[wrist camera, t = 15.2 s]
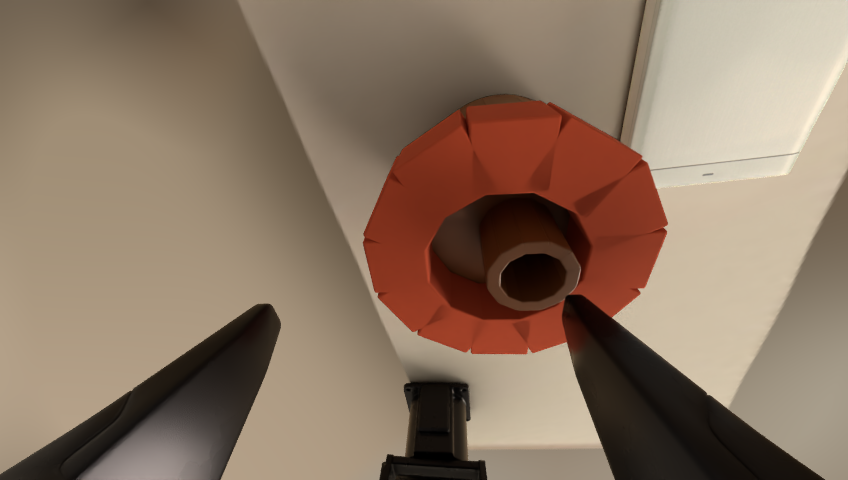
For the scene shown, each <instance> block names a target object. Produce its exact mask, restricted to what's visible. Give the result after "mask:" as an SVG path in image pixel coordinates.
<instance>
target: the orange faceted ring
mask: <svg viewBox="0 0 848 480" xmlns="http://www.w3.org/2000/svg"><path fill="white" fill-rule="evenodd" d="M642 157H643V156H642V155H641V154H639V153H637V152H636V151H634V150H633V149H631V148H629V147H628V146H626V145H624V144H623V143H621V142H620V141H618V140H616V139H615V138H613V137H611V136H610V135H608V134H606V133H605V132H603V131H601V130H599V129H597V128H596V127H594V126H592V125H590V124H588V123H587V122H585V121H583V120H581V119H580V118H578V117H576V116H574V115H572V114H571V113H569V112H567V111H565V110H563V109H562V108H560V107H558V106H556V105H555V104H553V103H551V102H549V103H548V104H547V105H546V104H545V103H544V102H542V101H529V102H517V103H505V104H492V105H480V106H468V107H467V108H466V119H465V118H464V116H463V114H462V113H461V111H460V110H457V111H456V112H454V113H453V114H451V115H450V116H449V117H447V118H446V119H444V120H443V121H442V122H440V123H439V124H437V125H436V126H434V127H433V128H432V129H430V130H429V131H427V132H426V133H424V134H423V135H422V136H420V137H419V138H417V139H416V140H415V141H413V142H412V143H410V144H409V145H407V146H406V147H405V148H403V149H402V151H401V153H400V156H397V157H396V159H395V161H394V163H393V166H392V168H391V170H390V172H389V174H388V176H387V179H386V181H385V183H384V186H383V188H382V191H381V193H380V195H379V198H378V200H377V203H376V205H375V207H374V210H373V212H372V214H371V217H370V219H369V222H368V224H367V226H366V229H365V231H364V237H365V238H364V241H363V246H364V250H365V254H366V258H367V262H368V266H369V271H370V275H371V279H372V283H373V287H374V291H375V292H376V293H378V298H379V299H380V300H381V301H382V302H383V303H384V304H385V305H386V306H387V307H388V308H389V309H390V310H391V311H392V312H393V313H394V314H395V315H396V316H397V317H398V318H399V319H400V320H401V321H402V322H403V323H404V324H405V325H406V326H407V327H408V328H409V329H410V330H411V331H412V332H414V331H417V330H418V335H419V336H422V337H424V338H427V339H430V340H433V341H435V342H438V343H441V344H443V345H446V346H449V347H452V348H454V349H457V350H460V351H463V352H467V351H468V350H469V349H470V348H471V353H472V354H527V351H528V348H529V349H530V350H531V352H532V353H535V352H538V351H541V350H544V349H547V348H550V347H553V346H556V345H559V344H562V343H565V342H567V340H566V336H565V332H564V328H563V324H562V311H563V306H564V300H565V299H564V300H563V301H561V302H560V303H557V304H555V305H552V306H550V307H547V308H545V309H542V310H528V311H518V310H514V309H512V308H509V307H507V306H504V305H502V304H499V303H498V302H497V301H496V300H495V298H494V297H493V296H492V295H491V293H490V292H489V291H488V289H487V286H486V283H480V284H478V283H476V282H474V281H471V280H469V279H466V278H464V277H461V276H459V275H457V274H454V273H452V272H450V271H449V270H448V268H447V267H446V266H445V265H444V264H443V262H442V261H441V260H440V259H439V257H438V256H437V255H436V254H435V253H434V251H433V250H432V240H433V238H434V236H435V235H436V233H437V231H438V229H439V228H440V226H441V224H442V223H443V221H444V219H445V218H446V217H448V216H450V215H452V214H453V213H455V212H457V211H459V210H460V209H462V208H464V207H466V206H467V205H469V204H471V203H473V202H475V201H476V200H478V199H480V198H482V197H483V196H485V195H499V194H519V193H535V194H537V195H539V196H541V197H543V198H546V199H548V200H550V201H552V202H554V203H556V204H558V205H560V206H562V207H564V208H566V209H567V210H568V212H569V214H570V218H569V223H568V228H567V234H566V241H567V243H568V245H569V246H570V248H571V250H572V252H573V253H574V255H575V257H576V259H577V260H578V262H579V264H580V266H581V271H580V276H579V280H578V285H577V287H576V288H575V289H574V290H573V291H572V292H571V293H570V294H569V295H571V294H581V295H583V296H585V297H586V298H587V299H589V300H590V301H591V302H592V303H594V304H595V305H596V306H597V307H599V308H600V309H601V310H602V311H604V312H605V313H606V314H608V315H609V316H610V317H611V318H612V317H613V316H614V315H615V314H617V313H618V312H619V311H620V310H621V309H623V308H624V307H625V306H626V305H628V304H629V303H630V302H631V301H632V300H634V299H635V298H636V297H637V296H639V295H640V291H639V290H638V289H637V288H645V286H646V284H647V281H648V279H649V276H650V274H651V272H652V269H653V267H654V264H655V262H656V259H657V257H658V254H659V252H660V249H661V247H662V244H663V242H664V239H665V237H666V235H667V231H666V230H665V229H664V228H663V227H665V226H667V225H668V222H667V219H666V216H665V213H664V210H663V207H662V204H661V201H660V198H659V195H658V192H657V189H656V186H655V183H654V180H653V177H652V174H651V171H650V168H649V165H648V163H647V162H646V161H644V160H643V159H642Z"/></svg>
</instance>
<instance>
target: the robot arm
mask: <svg viewBox="0 0 848 480" xmlns="http://www.w3.org/2000/svg"><path fill="white" fill-rule="evenodd" d="M562 324H563V328H564V332H565V336H566V340H567V344H568V348H569V352H570V356H571V360H572V363H573V367H574V371H575V374H576V377H577V380H578V383H579V386H580V388H581V391H582V394H583V396H584V399H585V401H586V404H587V407H588V409H589V412H590V415H591V417H592V420H593V423H594V425H595V428H596V431H597V433H598V436H599V439H600V441H601V444H602V447H603V449H604V452H605V454H606V457H607V460H608V462H609V465H610V468H611V470H612V473H613V475H614V478H615V480H825V479H823V478H822V477H821V476H819V475H818V474H816V473H815V472H813V471H812V470H811V469H809V468H808V467H806V466H805V465H803V464H802V463H800V462H799V461H798V460H796V459H795V458H793V457H792V456H790V455H789V454H788V453H786V452H785V451H784V450H782V449H781V448H779V447H778V446H776V445H775V444H774V443H772V442H771V441H770V440H768V439H767V438H765V437H764V436H763V435H761V434H760V433H758V432H757V431H756V430H754V429H753V428H752V427H750V426H749V425H748V424H747V423H745V422H744V421H743V420H741V419H740V418H739V417H737V416H736V415H735V414H733V413H732V412H731V411H730V410H728V409H727V408H726V407H724V406H723V405H722V404H721V403H719V402H718V401H717V400H716V399H714V398H713V397H712V396H710V395H707V393H706V392H705V391H704V390H703V389H701V388H700V387H699V386H698V385H696V384H695V383H694V382H693V381H691V380H690V379H689V378H687V377H686V376H685V375H684V374H682V373H681V372H680V371H679V370H677V369H676V368H675V367H674V366H672V365H671V364H670V363H668V362H667V361H666V360H665V359H663V358H662V357H661V356H660V355H658V354H657V353H656V352H654V351H653V350H652V349H651V348H649V347H648V346H647V345H646V344H644V343H643V342H642V341H641V340H639V339H638V338H637V337H635V336H634V335H633V334H632V333H630V332H629V331H628V330H627V329H625V328H624V327H623V326H622V325H620V324H619V323H618V322H616V321H615V320H614V319H613V318H611V317H610V316H609V315H608V314H606V313H605V312H604V311H602V310H601V309H600V308H599V307H597V306H596V305H595V304H594V303H592V302H591V301H590V300H589V299H587V298H586V297H585V296H583V295H581V294H571V295H567V296H566V297H565V300H564V306H563V311H562ZM280 328H281V323H280V319H279V317H278V316H277V314H276V312H275V310H274V308H273V306H272V305H270V304H257V305H255V306H253V307H252V308H250V309H249V310H248V311H246V312H245V313H243V314H242V315H240V316H239V317H237V318H236V319H234V320H233V321H232V322H230V323H229V324H227V325H226V326H224V327H223V328H221V329H220V330H218V331H217V332H215V333H214V334H213V335H211V336H210V337H208V338H207V339H205V340H204V341H202V342H201V343H199V344H198V345H197V346H195V347H194V348H192V349H191V350H189V351H188V352H186V353H185V354H184V355H182V356H180V357H179V358H177V359H176V360H175V361H173V362H172V363H170V364H169V365H167V366H166V367H164V368H163V369H161V370H160V371H158V372H157V373H156V374H154V375H153V376H151V377H150V378H148V379H147V380H145V381H144V382H142V383H141V384H140V385H138V386H137V387H135V388H134V389H133V390H132V391H129V392H128V393H126V394H125V395H123V396H122V397H121V398H119V399H117V400H116V401H115V402H113V403H112V404H110V405H109V406H107V407H106V408H104V409H103V410H101V411H100V412H98V413H97V414H95V415H94V416H92V417H91V418H89V419H88V420H86V421H85V422H83V423H81V424H80V425H78V426H77V427H75V428H73V429H72V430H70V431H69V432H67V433H66V434H64V435H63V436H61V437H59V438H58V439H56V440H54V441H53V442H51V443H50V444H48V445H46V446H45V447H43V448H42V449H40V450H39V451H37V452H35V453H34V454H32V455H30V456H29V457H27V458H26V459H24V460H22V461H21V462H19V463H18V464H16V465H15V466H13V467H11V468H10V469H8V470H6V471H5V472H3V473H2V474H0V480H220V479H221V477H222V475H223V472H224V470H225V468H226V466H227V463H228V461H229V459H230V456H231V454H232V452H233V449H234V447H235V445H236V442H237V440H238V438H239V435H240V433H241V431H242V428H243V426H244V424H245V421H246V419H247V416H248V414H249V412H250V410H251V407H252V405H253V403H254V400H255V398H256V396H257V394H258V391H259V389H260V387H261V384H262V382H263V379H264V377H265V374H266V372H267V369H268V366H269V363H270V360H271V356H272V353H273V350H274V347H275V344H276V341H277V337H278V335H279V331H280ZM404 392H405V396H406V400H407V404H408V408H409V412H410V417H409V426H408V435H407V444H406V453H405V457H402V456H394V455H389V454H388V455H387V459H386V462H383V463H382V468H381V474H380V480H487V475H486V467H485V461H483V460H479V461H468V448H467V424H466V421H469V420H470V402H469V386H468V385H467V384H464V383H406V384H405V385H404Z"/></svg>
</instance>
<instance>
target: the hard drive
mask: <svg viewBox="0 0 848 480" xmlns="http://www.w3.org/2000/svg"><path fill="white" fill-rule="evenodd" d="M847 62H848V0H647V1H646V6H645V11H644V17H643V22H642V28H641V33H640V38H639V44H638V49H637V54H636V59H635V65H634V70H633V76H632V81H631V86H630V91H629V96H628V102H627V108H626V113H625V118H624V123H623V129H622V134H621V139H620V142H621V143H623V144H624V145H626V146H628V147H629V148H631V149H633V150H634V151H636V152H637V153H639V154H641V155H642V156H643V157H642V159H643V160H644V161H646V162H647V163H648V165H649V168H650V171H651V174H652V177H653V180H654V183H655V186H656V189H658V188H668V187H678V186H687V185H697V184H708V183H717V182H726V181H735V180H745V179H754V178H764V177H773V176H781V175H785V174H789V173H790V171H791V169H792V167H793V165H794V163H795V161H796V159H797V157H798V155H799V153H800V151H801V150H802V148H803V146H804V144H805V142H806V141H807V139H808V137H809V134H810V132H811V131H812V129H813V127H814V125H815V123H816V121H817V119H818V117H819V115H820V113H821V111H822V110H823V108H824V106H825V104H826V102H827V100H828V98H829V96H830V95H831V93H832V91H833V89H834V87H835V85H836V83H837V81H838V79H839V77H840V75H841V73H842V71H843V69H844V67H845V66H846V64H847Z"/></svg>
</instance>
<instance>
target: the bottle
mask: <svg viewBox="0 0 848 480" xmlns="http://www.w3.org/2000/svg"><path fill="white" fill-rule="evenodd" d="M529 101H533V100H530V99H528V98H525V97H521V96H517V95H508V94H504V95H493V96H487V97H483V98H480V99H477V100H475V101H473V102H471V103H468V104H466V105H465V106H463V107H462V108H460V109H459V110H460V111H461V113H462V114H463V116H464V118H465V119H466V108H467V107H468V106H480V105H492V104H505V103H517V102H529ZM569 218H570V214H569V212H568V210H567V209H566V208H564V207H562V206H560V205H558V204H556V203H554V202H552V201H550V200H548V199H546V198H543V197H541V196H539V195H537V194H535V193H519V194H499V195H485V196H483V197H482V198H480V199H478V200H476V201H475V202H473V203H471V204H469V205H467V206H466V207H464V208H462V209H460V210H459V211H457V212H455V213H453V214H452V215H450V216H448V217H446V218H445V219H444V221H443V223H442V224H441V226H440V228H439V229H438V231H437V233H436V235H435V236H434V238H433V240H432V250H433V251H434V253H435V254H436V255H437V256H438V257H439V259H440V260H441V261H442V262H443V264H444V265H445V266H446V267H447V268H448V270H449V271H450V272H452V273H454V274H457V275H459V276H461V277H464V278H466V279H469V280H471V281H474V282H476V283H478V284H480V283H486V286H487V289H488V291H489V292H490V293H491V295H492V296H493V297H494V298H495V300H496V301H497V302H498V303H499V304H502V305H504V306H507V307H509V308H512V309H514V310H518V311H528V310H542V309H545V308H547V307H550V306H552V305H555V304H557V303H560V302H561V301H563V300H564V299H565V297H566V296H567V295H569V294H570V293H571V292H572V291H573V290H574V289H575V288H576V287H577V285H578V280H579V276H580V271H581V266H580V264H579V262H578V260H577V259H576V257H575V255H574V253H573V252H572V250H571V248H570V246H569V245H568V243H567V241H566V234H567V228H568V223H569Z"/></svg>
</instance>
